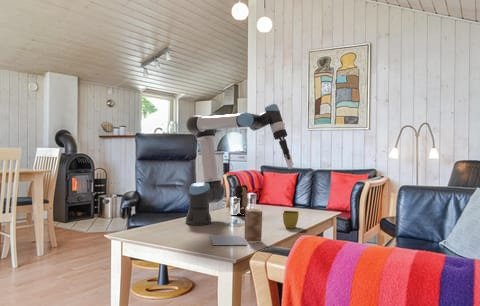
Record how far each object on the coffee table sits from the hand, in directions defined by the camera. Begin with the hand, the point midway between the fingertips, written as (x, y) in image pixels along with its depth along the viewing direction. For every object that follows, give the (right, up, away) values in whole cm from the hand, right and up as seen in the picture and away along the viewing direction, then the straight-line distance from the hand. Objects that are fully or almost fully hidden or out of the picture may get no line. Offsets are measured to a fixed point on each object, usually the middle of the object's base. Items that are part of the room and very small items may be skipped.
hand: (290, 167), depth 209 cm
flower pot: (+1, -35, +11) cm, 37 cm away
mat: (-34, -35, -25) cm, 55 cm away
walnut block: (-22, -35, -23) cm, 47 cm away
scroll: (-27, -34, +49) cm, 65 cm away
